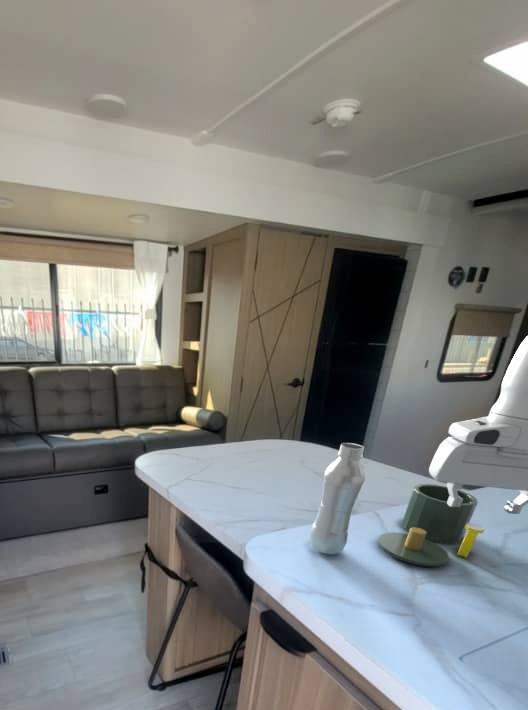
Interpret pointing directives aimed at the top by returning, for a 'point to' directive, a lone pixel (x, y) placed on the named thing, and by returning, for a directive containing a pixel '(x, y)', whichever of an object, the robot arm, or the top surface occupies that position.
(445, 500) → the tin
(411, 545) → the tin lid
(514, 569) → the top surface
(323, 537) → the plastic bottle
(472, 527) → the watch
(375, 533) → the top surface
